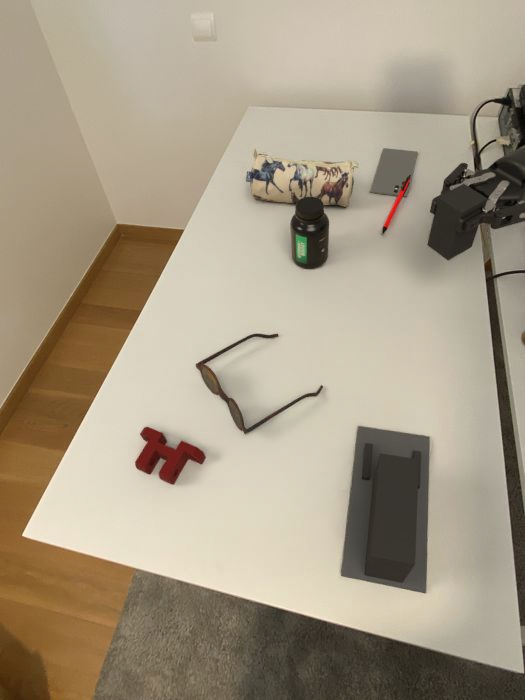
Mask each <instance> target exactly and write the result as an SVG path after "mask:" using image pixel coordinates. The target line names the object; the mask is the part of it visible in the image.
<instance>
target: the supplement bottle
mask: <svg viewBox="0 0 525 700" xmlns="http://www.w3.org/2000/svg"><path fill="white" fill-rule="evenodd" d="M294 209H295V211H294V214H293V215H292V217H291V219H290V224H289V225H290V226H289V229H290V249H291V251H290V252H291V259H292V262H293V263H294V264H295V265H296V266H297V267H299V268H301V269H305V270H312V269H313V270H314V269H317V268H320V267H321V266H324V264H325V263H326V262H327V260H328V257H329V246H330V245H329V243H330V219H329V217H328V215H327V214H326V213H325V205H324V204H323V202H322V201H321V199H319V198H317V197H312V196H311V197H303V198H301V199H300V200H299V201H297V203H295V207H294Z"/></svg>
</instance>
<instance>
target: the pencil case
mask: <svg viewBox="0 0 525 700" xmlns="http://www.w3.org/2000/svg"><path fill="white" fill-rule="evenodd" d="M256 149H257V148H253V151H252V155H253V156H252V157H253V158H254V161H253V164H252V167H251V171H248V170H247V171H246V178H245V182H246V183H249V184H250V188H251V194H252V195H251V196H252V197H253V198H254V199H255V200H262V201H266V202H273V203H287V204H296V203H297V201H299V200H300V199H301V198H303V197H311V196H312V197H317V198H319V199H321V201H322V202H323V204H324V206H335V205H337V206H341V207H343V208H347V207H349V205H350V202H351V197H352V193H353V190H354V185H355V179H354V170H355V168H356V169H359V163H358V162H357V161H355V160H353V161H352V160H345V161H335V162H332V161H319V160H318V161H317V160H316V161H315V160H294V159H286V158H279V157H274V156H270V155H268V154H267V153H266V152H259V153H258V152H257V150H256Z"/></svg>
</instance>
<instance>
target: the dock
mask: <svg viewBox="0 0 525 700" xmlns="http://www.w3.org/2000/svg"><path fill="white" fill-rule="evenodd" d="M430 443H431V437H430V436H429V435H424V434H423V435H422V434H415V433H408V432H401V431H395V430H390V429H383V428H375V427H368V426H362V425H357V431H356V440H355V449H354V459H353V467H352V475H351V482H350V483H351V484H350V492H349V500H348V502H349V503H348V511H347V518H346V527H345V536H344V545H343V552H342V553H343V554H342V563H341V571H340V576H341V577H343V578H348V579H354V580H358V581H363V582H368V583H373V584H378V585H383V586H387V587H393V588H397V589H401V590H406V591H411V592H417V593H422V594H426V593H427V585H428V584H427V579H428V541H429V540H428V537H429V536H428V534H429V533H428V531H429V530H428V529H429V495H430V493H429V492H430V491H429V490H430V489H429V488H430V487H429V486H430V448H431V447H430V445H431V444H430Z"/></svg>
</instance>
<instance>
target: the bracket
mask: <svg viewBox="0 0 525 700" xmlns="http://www.w3.org/2000/svg"><path fill="white" fill-rule="evenodd" d="M139 435H140V436H141V439H142V440H143V441H145V442H146V444H145V445H144V447H143V449H142V450H141V451H140V453H139V455H138V456H137V458H136V459H135V461H134V466H135V468H136V470H138V471H140V472H143V473H145V474H147V475H151V474H152V473H153V471H154V469H155V468H156V466H157V465H158V463H159V462H160V459H161V460H163V461H164V463H163V465H162V466H161V467H160V469H159V471H158V478H159V480H160V481H163V482H165V483H167V484H169V485H172V486H174V485H175V484H176V482H177V480H178V479H179V477H180V475H181V474H182V471H183V469H184V468H185V467H186V464H187V463H188V461H189V460H190V461H193V462H195V463H197V464H199V465H203V463H204V462H205V460H206V458H207V457H206V454H205V452H204V451H203V450H202V449H200V448H199V447H198V446H195V445H193V444H191V443H188V442H186V441H183V440H180V441H179V443H178V445H177V447H176V448H173V447H170V446H168V445H166V444H167V443H168V440H167V438H166V437H165V435H164V433H163V432H162V431H159V430H156V429H155V428H152V427H150V426H144V427H143V428H142V430H141V432H140V433H139Z"/></svg>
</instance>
